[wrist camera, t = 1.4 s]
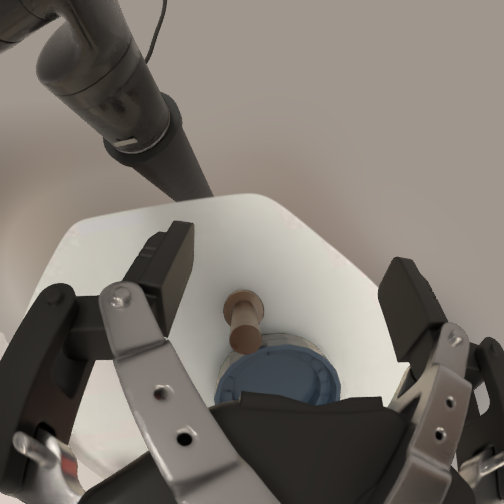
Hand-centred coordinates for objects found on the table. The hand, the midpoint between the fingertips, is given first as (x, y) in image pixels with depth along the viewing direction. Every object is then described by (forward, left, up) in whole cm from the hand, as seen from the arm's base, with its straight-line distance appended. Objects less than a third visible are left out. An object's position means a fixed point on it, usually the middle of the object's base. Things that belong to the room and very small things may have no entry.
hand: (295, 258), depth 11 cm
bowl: (+17, -4, -24) cm, 30 cm away
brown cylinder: (+6, -4, -24) cm, 25 cm away
